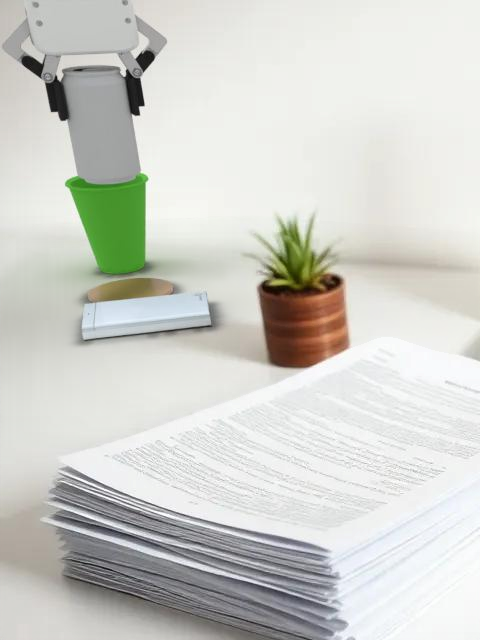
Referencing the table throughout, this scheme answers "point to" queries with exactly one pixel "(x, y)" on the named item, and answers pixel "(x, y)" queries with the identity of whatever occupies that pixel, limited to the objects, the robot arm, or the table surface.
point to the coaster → (130, 289)
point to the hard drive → (145, 315)
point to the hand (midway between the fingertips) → (99, 114)
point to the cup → (113, 221)
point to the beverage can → (100, 124)
